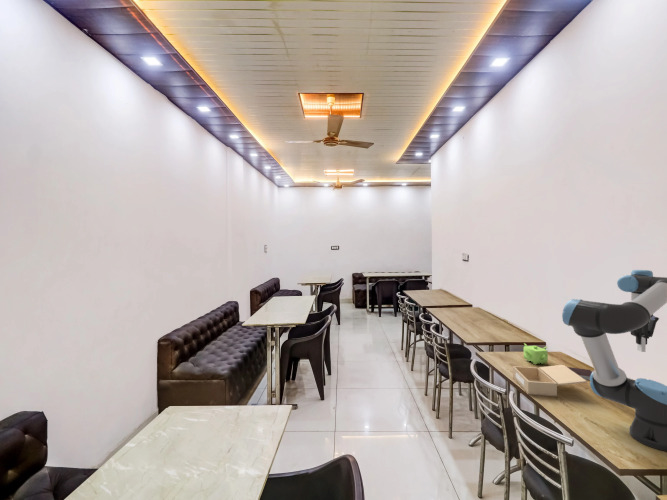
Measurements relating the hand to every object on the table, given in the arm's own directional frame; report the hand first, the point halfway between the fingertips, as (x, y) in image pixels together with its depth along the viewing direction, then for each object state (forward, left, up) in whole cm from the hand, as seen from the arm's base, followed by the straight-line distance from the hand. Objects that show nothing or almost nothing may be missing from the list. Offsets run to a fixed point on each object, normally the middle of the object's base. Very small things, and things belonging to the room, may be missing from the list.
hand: (641, 350), depth 153 cm
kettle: (+62, +21, -30) cm, 72 cm away
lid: (+21, +25, -21) cm, 39 cm away
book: (+43, +7, -30) cm, 53 cm away
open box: (+21, +39, -29) cm, 53 cm away
